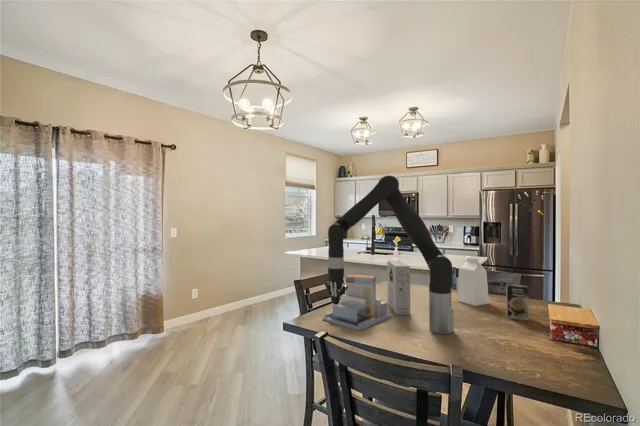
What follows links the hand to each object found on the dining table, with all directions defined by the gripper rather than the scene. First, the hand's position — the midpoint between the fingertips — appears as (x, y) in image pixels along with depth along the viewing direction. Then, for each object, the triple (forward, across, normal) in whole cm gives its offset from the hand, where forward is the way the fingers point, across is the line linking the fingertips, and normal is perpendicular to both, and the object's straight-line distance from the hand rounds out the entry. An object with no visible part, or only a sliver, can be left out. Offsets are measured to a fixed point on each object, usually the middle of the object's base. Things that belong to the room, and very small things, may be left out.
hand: (335, 304), depth 146 cm
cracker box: (+10, -1, -18) cm, 21 cm away
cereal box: (+10, -6, -45) cm, 46 cm away
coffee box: (+10, -57, -71) cm, 91 cm away
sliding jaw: (+10, 0, -9) cm, 14 cm away
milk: (+10, -31, -86) cm, 92 cm away
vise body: (+10, 0, -16) cm, 19 cm away
